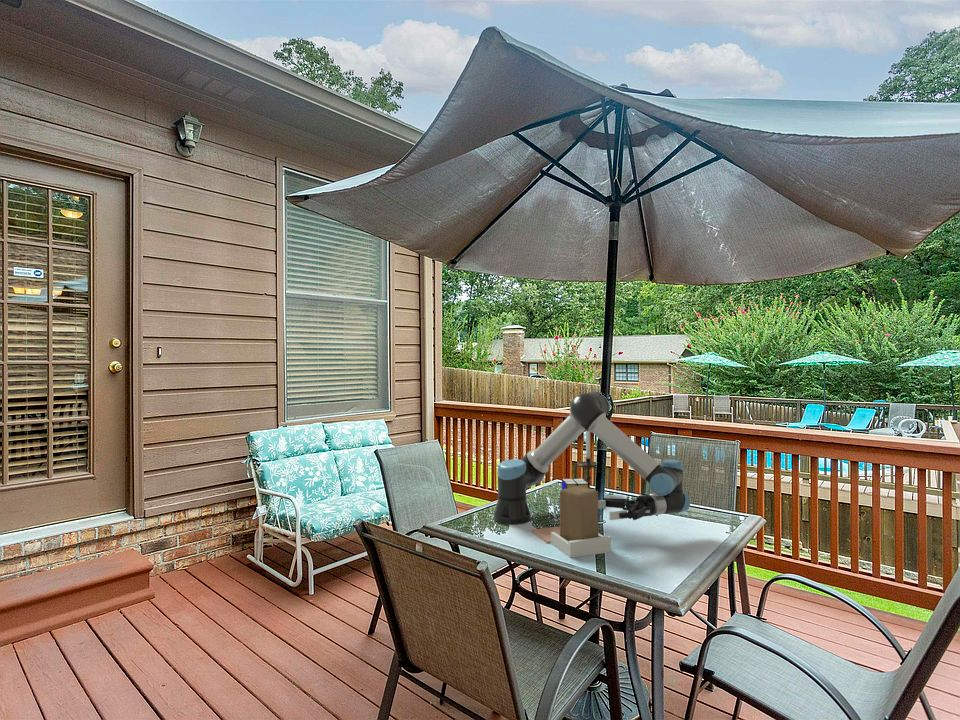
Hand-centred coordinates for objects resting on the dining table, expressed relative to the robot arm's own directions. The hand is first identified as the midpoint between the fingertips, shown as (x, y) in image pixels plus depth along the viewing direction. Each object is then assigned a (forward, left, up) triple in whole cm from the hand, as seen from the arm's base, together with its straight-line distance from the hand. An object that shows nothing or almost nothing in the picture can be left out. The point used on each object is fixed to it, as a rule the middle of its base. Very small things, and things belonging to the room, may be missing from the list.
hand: (599, 510), depth 188 cm
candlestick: (+33, +65, -12) cm, 74 cm away
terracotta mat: (-8, +14, -12) cm, 20 cm away
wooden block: (-8, 0, -12) cm, 15 cm away
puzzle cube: (+18, +51, -12) cm, 56 cm away
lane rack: (-8, 0, -12) cm, 14 cm away
